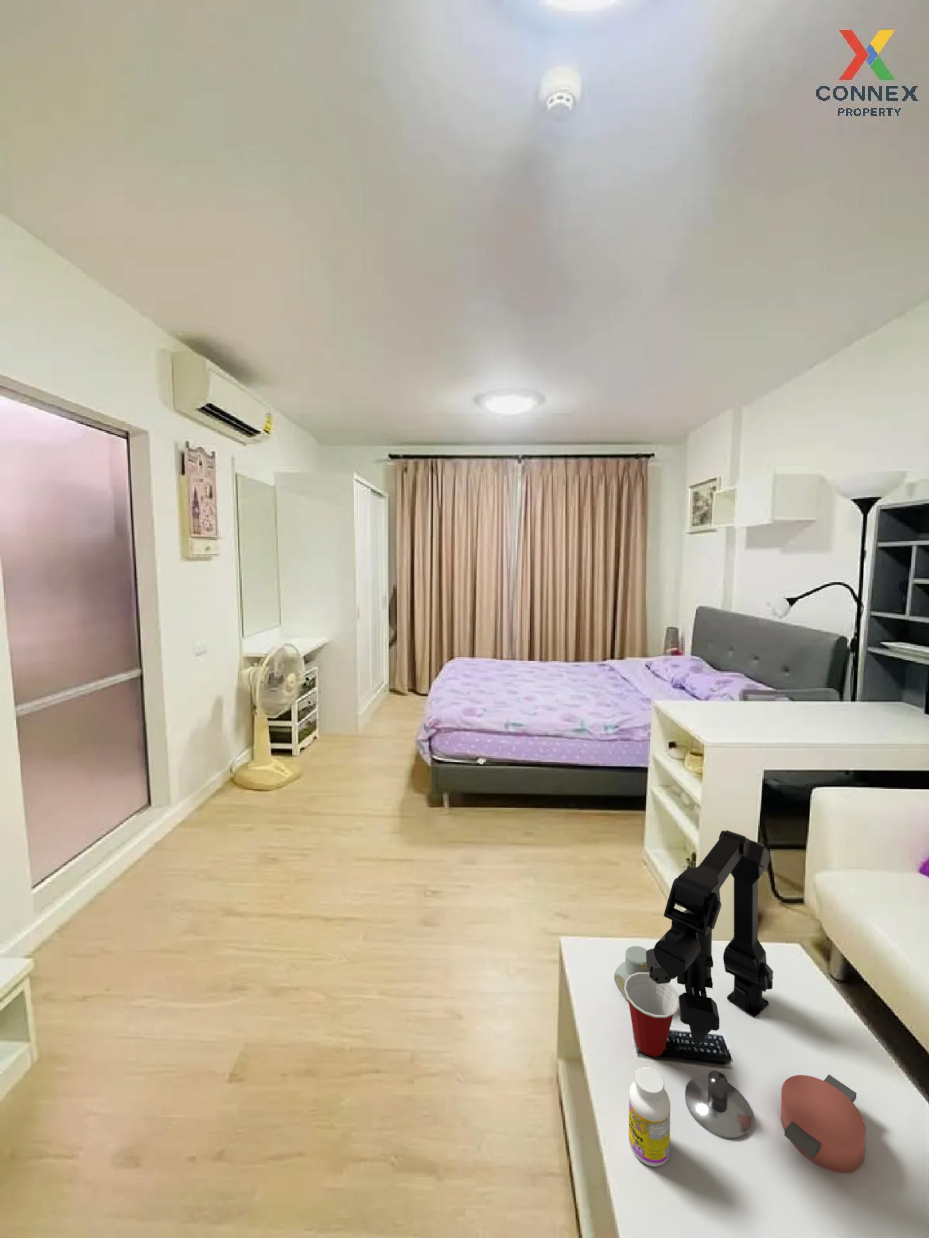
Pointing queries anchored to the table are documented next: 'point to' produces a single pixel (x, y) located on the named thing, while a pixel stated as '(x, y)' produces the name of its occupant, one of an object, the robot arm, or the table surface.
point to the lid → (718, 1106)
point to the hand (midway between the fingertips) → (693, 1022)
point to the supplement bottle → (649, 1117)
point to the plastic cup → (650, 1011)
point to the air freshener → (630, 966)
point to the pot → (823, 1122)
